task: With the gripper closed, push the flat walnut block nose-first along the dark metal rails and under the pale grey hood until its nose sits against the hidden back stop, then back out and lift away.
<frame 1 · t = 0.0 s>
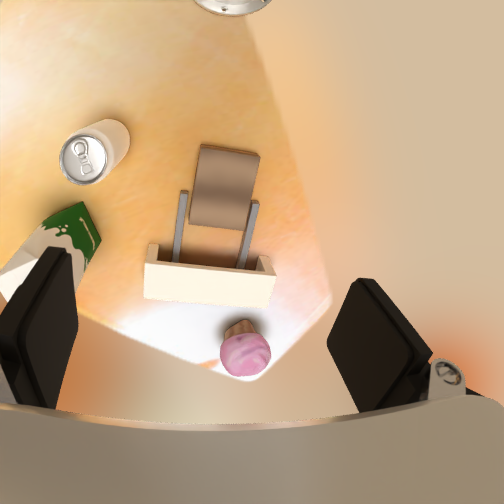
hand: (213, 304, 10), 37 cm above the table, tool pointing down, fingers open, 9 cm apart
walnut tile: (221, 184, 46), on the table
can: (109, 141, 40), on the table
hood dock: (211, 241, 50), on the table
milk carton: (73, 228, 45), on the table
cupcake: (239, 329, 60), on the table
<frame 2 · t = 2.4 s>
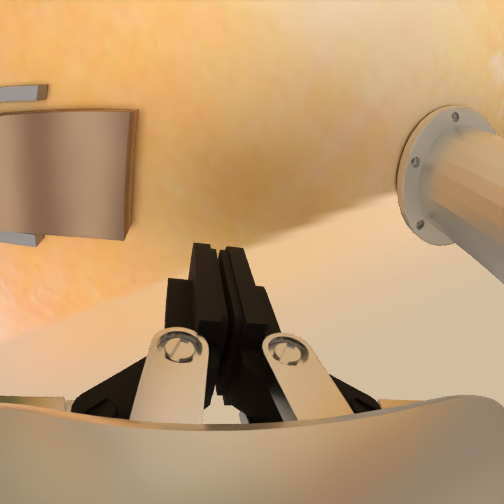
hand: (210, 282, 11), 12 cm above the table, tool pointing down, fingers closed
walnut tile: (61, 164, 19), on the table
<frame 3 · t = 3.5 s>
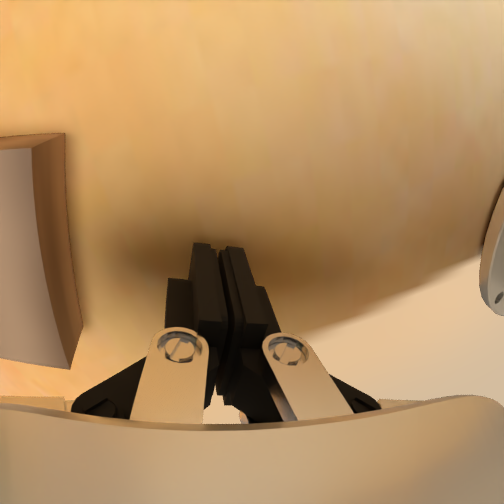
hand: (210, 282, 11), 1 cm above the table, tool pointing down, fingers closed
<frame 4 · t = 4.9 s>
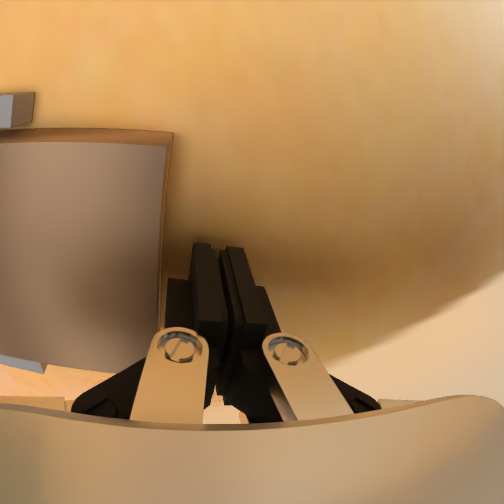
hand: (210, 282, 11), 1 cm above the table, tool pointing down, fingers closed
walnut tile: (30, 230, 10), on the table
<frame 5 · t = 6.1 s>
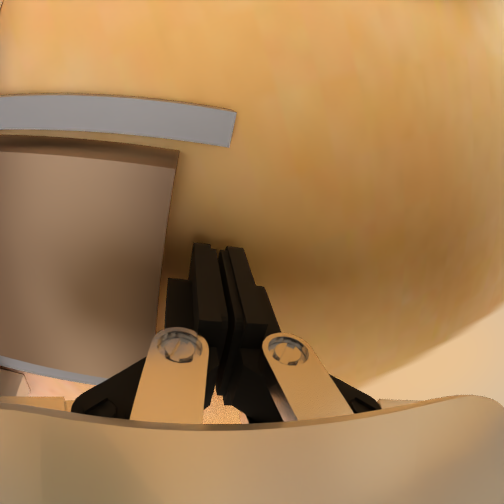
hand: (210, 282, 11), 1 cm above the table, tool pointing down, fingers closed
walnut tile: (32, 235, 10), on the table
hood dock: (15, 245, 10), on the table
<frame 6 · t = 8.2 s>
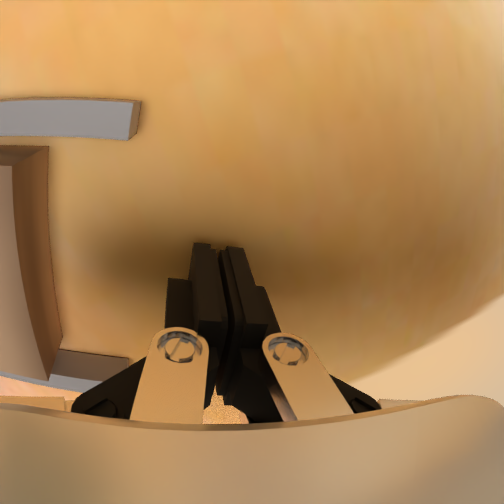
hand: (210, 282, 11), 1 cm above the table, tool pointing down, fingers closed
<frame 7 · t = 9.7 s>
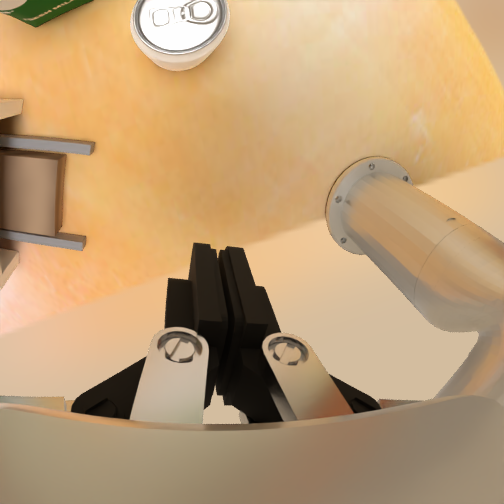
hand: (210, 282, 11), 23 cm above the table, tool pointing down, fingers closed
walnut tile: (21, 185, 28), on the table
can: (179, 40, 25), on the table
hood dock: (27, 188, 28), on the table
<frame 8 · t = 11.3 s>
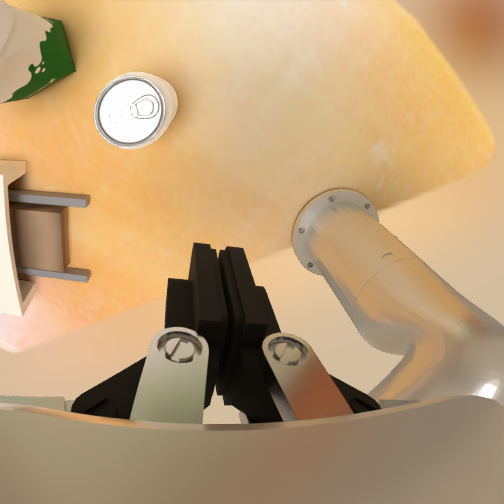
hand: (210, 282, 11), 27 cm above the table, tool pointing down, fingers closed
walnut tile: (33, 229, 35), on the table
can: (149, 104, 31), on the table
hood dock: (38, 232, 35), on the table
milk carton: (44, 58, 26), on the table
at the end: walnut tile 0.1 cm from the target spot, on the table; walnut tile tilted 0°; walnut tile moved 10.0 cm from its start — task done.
